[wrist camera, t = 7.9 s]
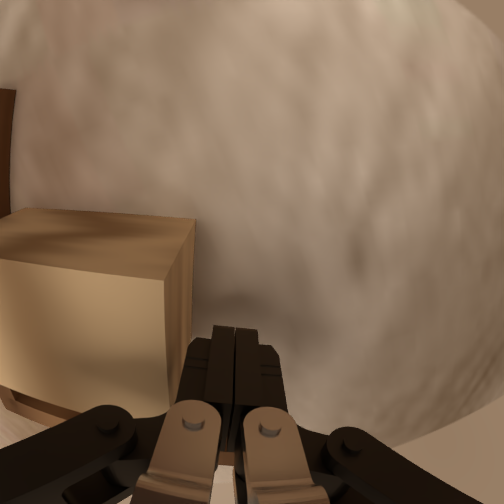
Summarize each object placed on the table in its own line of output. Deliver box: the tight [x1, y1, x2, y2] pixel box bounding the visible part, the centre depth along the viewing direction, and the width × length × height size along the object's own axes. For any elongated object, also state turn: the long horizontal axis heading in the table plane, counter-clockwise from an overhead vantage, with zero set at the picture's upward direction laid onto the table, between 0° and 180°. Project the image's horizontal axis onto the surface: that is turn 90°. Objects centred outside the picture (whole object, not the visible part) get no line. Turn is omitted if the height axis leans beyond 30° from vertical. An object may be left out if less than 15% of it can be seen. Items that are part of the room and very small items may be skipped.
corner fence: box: [0, 88, 234, 466], centre depth 12 cm, size 15×18×4 cm
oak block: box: [0, 208, 196, 418], centre depth 11 cm, size 9×6×6 cm, turn 84°
